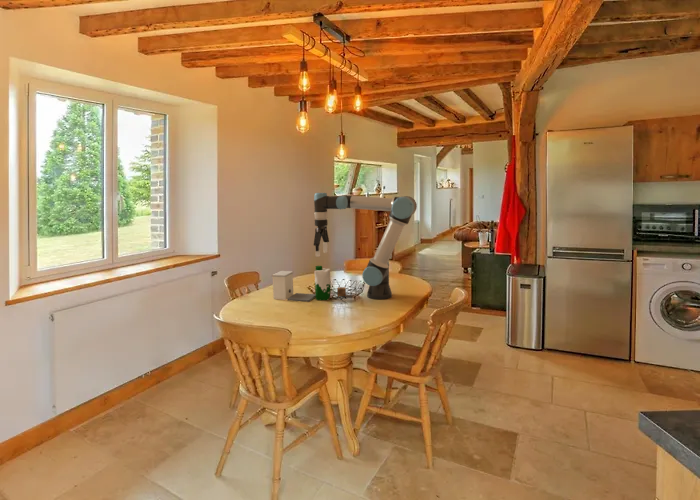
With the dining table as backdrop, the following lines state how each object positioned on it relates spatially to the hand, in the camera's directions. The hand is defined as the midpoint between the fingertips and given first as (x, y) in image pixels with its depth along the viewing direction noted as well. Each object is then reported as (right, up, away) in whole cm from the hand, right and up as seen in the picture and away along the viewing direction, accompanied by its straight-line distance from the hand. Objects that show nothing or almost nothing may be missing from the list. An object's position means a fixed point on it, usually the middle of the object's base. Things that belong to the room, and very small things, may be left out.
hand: (321, 254), depth 261 cm
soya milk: (+1, -27, +4) cm, 27 cm away
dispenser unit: (-24, -26, +10) cm, 37 cm away
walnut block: (+12, -26, +10) cm, 30 cm away
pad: (-12, -27, +7) cm, 30 cm away
